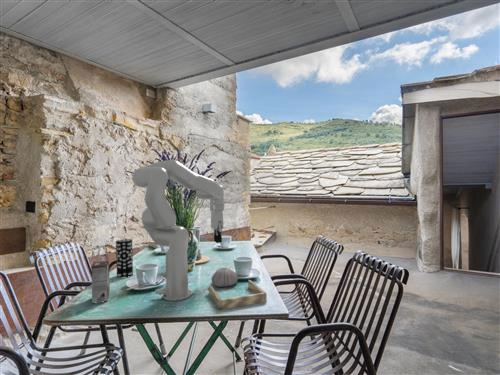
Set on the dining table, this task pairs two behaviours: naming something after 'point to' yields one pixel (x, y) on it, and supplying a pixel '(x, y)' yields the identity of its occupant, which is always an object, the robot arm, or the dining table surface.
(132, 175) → the robot arm
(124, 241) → the white-spotted black cylinder
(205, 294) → the dining table surface
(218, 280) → the sea urchin shell
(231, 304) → the box
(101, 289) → the coffee box
